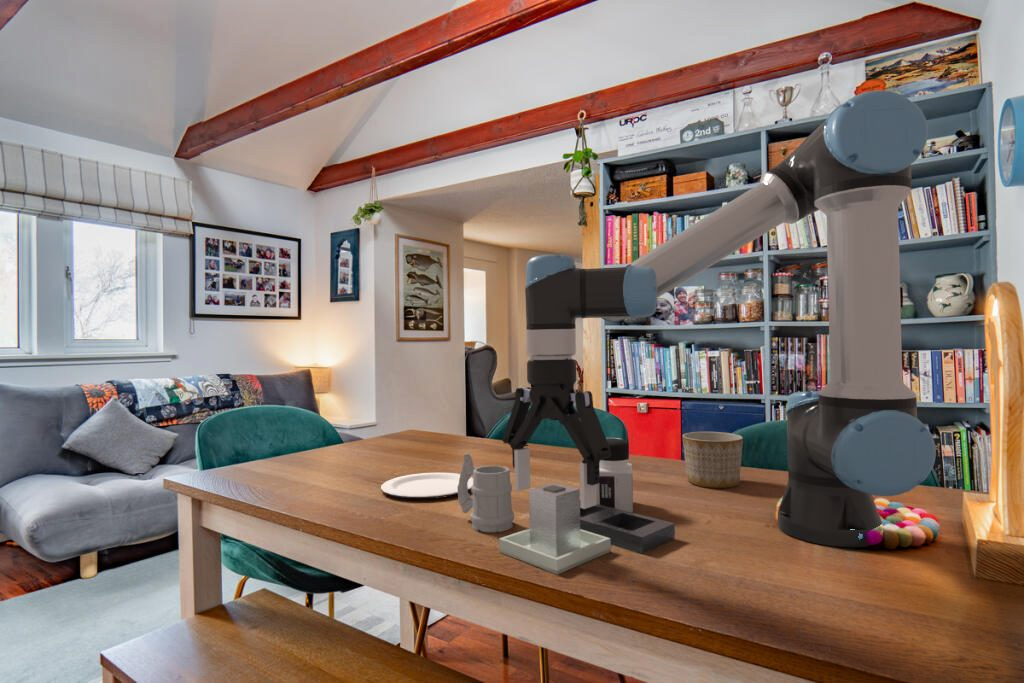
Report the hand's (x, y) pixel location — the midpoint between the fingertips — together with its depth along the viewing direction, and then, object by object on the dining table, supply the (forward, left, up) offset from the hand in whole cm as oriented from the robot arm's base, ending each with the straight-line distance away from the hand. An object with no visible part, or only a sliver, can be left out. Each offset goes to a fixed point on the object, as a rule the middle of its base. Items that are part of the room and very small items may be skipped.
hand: (553, 497), depth 86 cm
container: (+8, -25, -8) cm, 28 cm away
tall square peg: (0, 0, -8) cm, 8 cm away
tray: (0, 0, -8) cm, 8 cm away
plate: (+45, -8, -9) cm, 47 cm away
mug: (+18, -1, -8) cm, 20 cm away
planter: (+3, -55, -8) cm, 56 cm away
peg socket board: (+2, -13, -8) cm, 15 cm away
